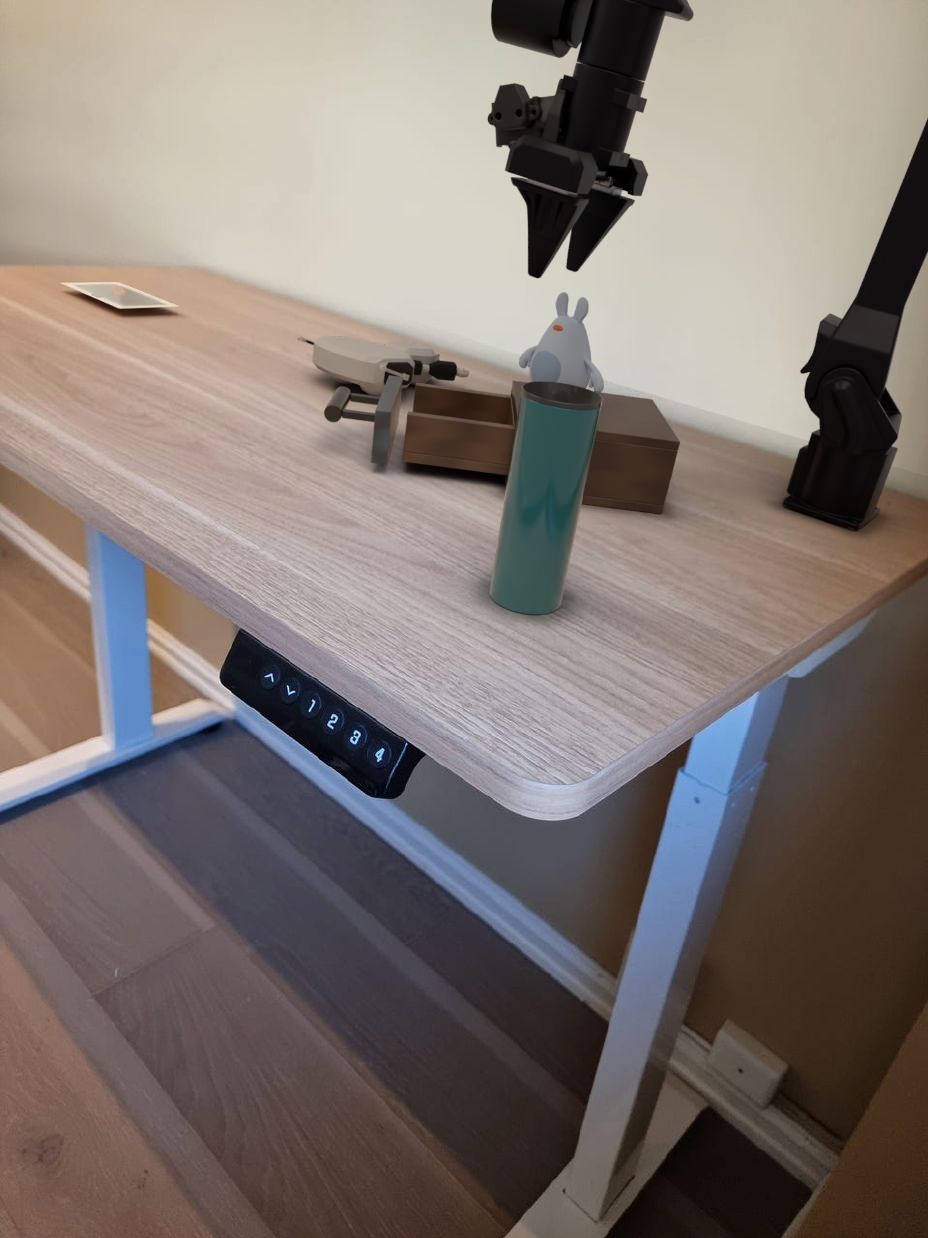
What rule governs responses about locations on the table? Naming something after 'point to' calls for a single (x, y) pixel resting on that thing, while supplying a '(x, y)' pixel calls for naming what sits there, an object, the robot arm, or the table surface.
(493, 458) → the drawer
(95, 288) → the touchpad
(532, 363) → the toy figure
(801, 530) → the table surface
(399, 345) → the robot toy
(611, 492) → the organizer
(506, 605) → the lidded cylindrical canister
